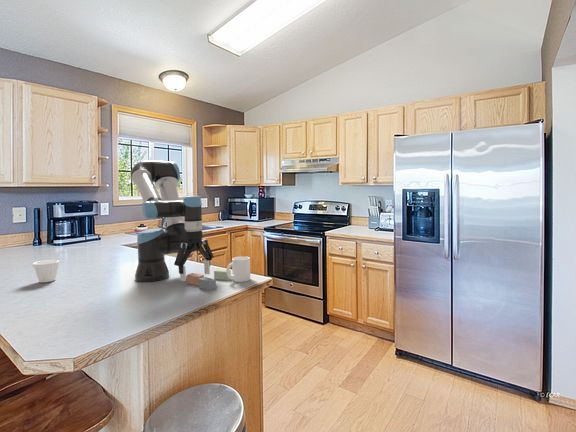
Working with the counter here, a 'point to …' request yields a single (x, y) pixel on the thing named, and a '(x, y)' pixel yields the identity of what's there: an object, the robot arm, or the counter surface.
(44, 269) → the cup
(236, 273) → the mug
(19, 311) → the counter surface
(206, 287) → the slate brick
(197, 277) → the terracotta brick
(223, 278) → the sage brick
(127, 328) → the counter surface
